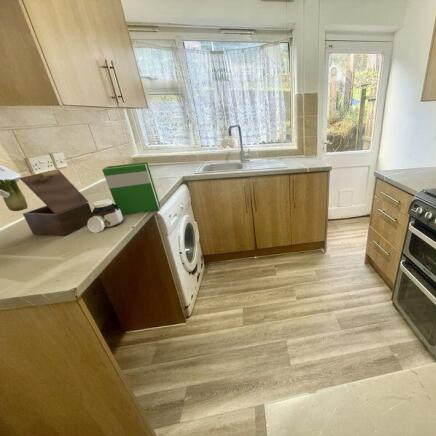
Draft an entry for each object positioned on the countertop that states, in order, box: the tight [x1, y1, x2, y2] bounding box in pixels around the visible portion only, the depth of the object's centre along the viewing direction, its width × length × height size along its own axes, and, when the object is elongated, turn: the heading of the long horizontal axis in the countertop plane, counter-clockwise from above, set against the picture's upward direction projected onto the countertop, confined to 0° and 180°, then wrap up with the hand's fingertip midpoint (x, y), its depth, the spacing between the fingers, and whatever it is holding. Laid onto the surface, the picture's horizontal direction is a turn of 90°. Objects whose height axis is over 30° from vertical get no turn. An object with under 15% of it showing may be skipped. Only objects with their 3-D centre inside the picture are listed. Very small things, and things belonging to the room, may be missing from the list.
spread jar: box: [86, 198, 124, 234], centre depth 108 cm, size 12×11×12 cm
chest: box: [22, 202, 93, 237], centre depth 109 cm, size 17×15×10 cm
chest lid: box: [19, 169, 89, 214], centre depth 103 cm, size 17×15×5 cm
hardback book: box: [101, 161, 161, 216], centre depth 122 cm, size 18×7×24 cm, turn 111°
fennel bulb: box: [0, 179, 28, 212], centre depth 89 cm, size 6×5×12 cm
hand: (14, 194), depth 89 cm, fingers closed on fennel bulb, 3 cm apart
